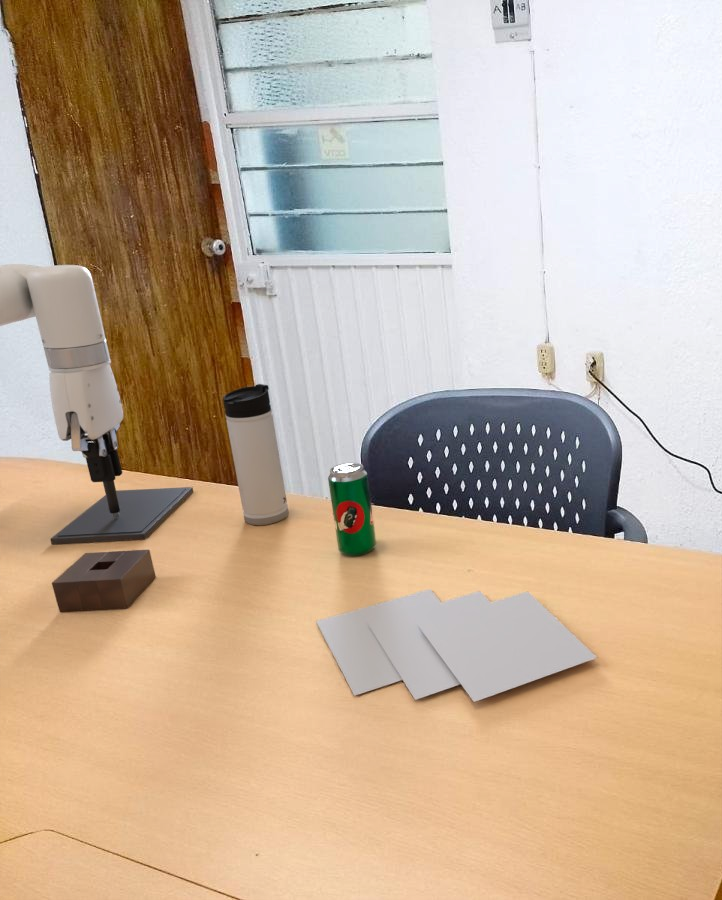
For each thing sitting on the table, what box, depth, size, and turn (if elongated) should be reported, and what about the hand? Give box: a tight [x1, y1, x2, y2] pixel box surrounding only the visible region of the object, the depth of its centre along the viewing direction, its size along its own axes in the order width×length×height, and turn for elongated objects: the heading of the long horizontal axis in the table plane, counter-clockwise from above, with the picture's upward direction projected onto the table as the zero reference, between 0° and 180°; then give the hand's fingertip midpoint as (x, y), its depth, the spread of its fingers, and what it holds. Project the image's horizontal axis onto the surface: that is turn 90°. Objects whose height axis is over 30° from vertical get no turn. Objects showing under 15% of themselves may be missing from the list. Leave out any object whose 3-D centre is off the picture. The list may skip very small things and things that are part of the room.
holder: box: [51, 549, 157, 613], centre depth 103 cm, size 8×8×4 cm
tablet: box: [49, 486, 194, 545], centre depth 127 cm, size 13×18×1 cm
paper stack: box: [315, 588, 598, 703], centre depth 92 cm, size 23×25×1 cm
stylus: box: [93, 440, 120, 517], centre depth 122 cm, size 1×1×12 cm
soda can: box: [327, 462, 377, 557], centre depth 112 cm, size 5×5×12 cm
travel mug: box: [222, 383, 290, 526], centre depth 122 cm, size 6×7×20 cm
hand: (107, 477), depth 122 cm, fingers closed on stylus, 1 cm apart
